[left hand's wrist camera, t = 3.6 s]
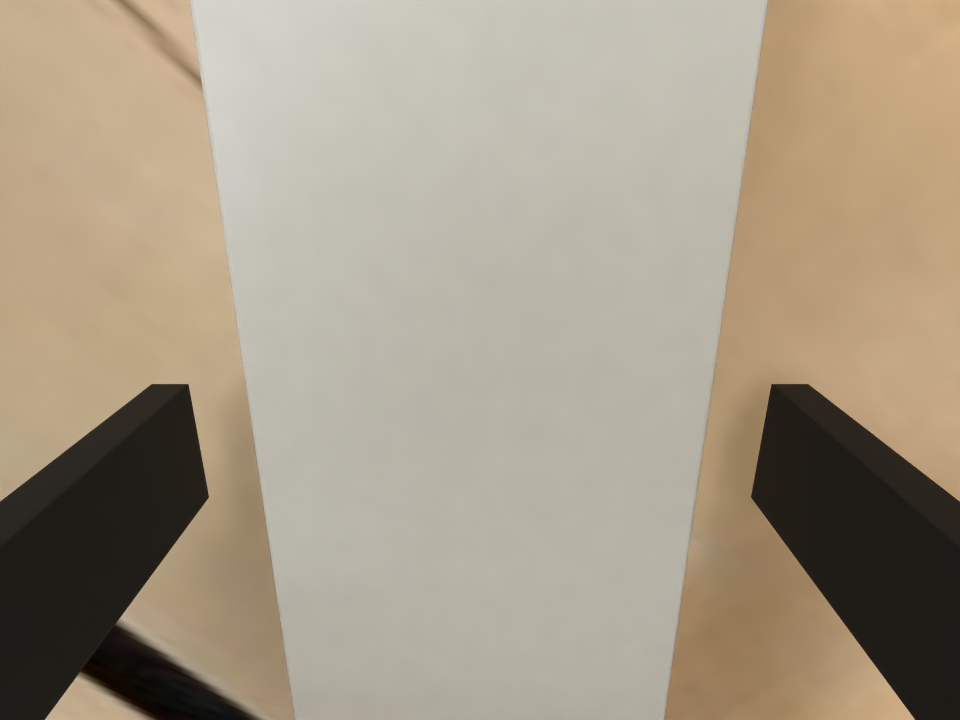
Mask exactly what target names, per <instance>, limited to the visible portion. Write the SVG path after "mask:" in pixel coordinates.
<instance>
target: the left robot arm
mask: <svg viewBox="0 0 960 720" xmlns="http://www.w3.org/2000/svg"><path fill="white" fill-rule="evenodd" d="M208 498H209V495H208V490H207V484H206V479H205V473H204V468H203V462H202V457H201V451H200V446H199V440H198V435H197V429H196V423H195V418H194V412H193V407H192V401H191V396H190V390H189V385H188V384H152V385H150V386H149V387H148V388H146V389H145V390H144V391H142V392H141V393H140V394H139V395H137V396H136V397H135V398H133V399H132V400H131V401H130V402H128V403H127V404H126V405H124V406H123V407H122V408H121V409H119V410H118V411H117V412H115V413H114V414H113V415H112V416H110V417H109V418H108V419H106V420H105V421H104V422H102V423H101V424H100V425H99V426H97V427H96V428H95V429H93V430H92V431H91V432H90V433H88V434H87V435H86V436H84V437H83V438H82V439H81V440H79V441H78V442H77V443H75V444H74V445H73V446H72V447H70V448H69V449H68V450H66V451H65V452H64V453H62V454H61V455H60V456H59V457H57V458H56V459H55V460H53V461H52V462H51V463H50V464H48V465H47V466H46V467H44V468H43V469H42V470H41V471H39V472H38V473H37V474H35V475H34V476H33V477H32V478H30V479H29V480H28V481H26V482H25V483H24V484H22V485H21V486H20V487H19V488H17V489H16V490H15V491H13V492H12V493H11V494H10V495H8V496H7V497H6V498H4V499H3V500H2V501H1V502H0V720H45V719H46V717H47V716H48V715H49V713H50V712H51V710H52V709H53V708H54V706H55V705H56V704H57V702H58V701H59V700H60V698H61V697H62V696H63V694H64V693H65V691H66V690H67V689H68V687H69V686H70V685H71V683H72V682H73V681H74V679H75V678H76V677H77V675H78V674H79V673H80V671H81V670H82V668H83V667H84V666H85V664H86V663H87V662H88V660H89V659H90V658H91V656H92V655H93V654H94V652H95V651H96V649H97V648H98V647H99V645H100V644H101V643H102V641H103V640H104V639H105V637H106V636H107V635H108V633H109V632H110V631H111V629H112V628H113V626H114V625H115V624H116V622H117V621H118V620H119V618H120V617H121V616H122V614H123V613H124V612H125V610H126V609H127V608H128V606H129V605H130V603H131V602H132V601H133V599H134V598H135V597H136V595H137V594H138V593H139V591H140V590H141V589H142V587H143V586H144V584H145V583H146V582H147V580H148V579H149V578H150V576H151V575H152V574H153V572H154V571H155V570H156V568H157V567H158V566H159V564H160V563H161V561H162V560H163V559H164V557H165V556H166V555H167V553H168V552H169V551H170V549H171V548H172V547H173V545H174V544H175V542H176V541H177V540H178V538H179V537H180V536H181V534H182V533H183V532H184V530H185V529H186V528H187V526H188V525H189V524H190V522H191V521H192V519H193V518H194V517H195V515H196V514H197V513H198V511H199V510H200V509H201V507H202V506H203V505H204V503H205V502H206V500H207V499H208ZM751 498H752V499H753V501H754V502H755V503H756V505H757V506H758V507H759V509H760V510H761V511H762V513H763V514H764V515H765V517H766V518H767V519H768V521H769V522H770V524H771V525H772V526H773V528H774V529H775V530H776V532H777V533H778V534H779V536H780V537H781V538H782V540H783V541H784V542H785V544H786V545H787V547H788V548H789V549H790V551H791V552H792V553H793V555H794V556H795V557H796V559H797V560H798V561H799V563H800V564H801V566H802V567H803V568H804V570H805V571H806V572H807V574H808V575H809V576H810V578H811V579H812V580H813V582H814V583H815V584H816V586H817V587H818V589H819V590H820V591H821V593H822V594H823V595H824V597H825V598H826V599H827V601H828V602H829V603H830V605H831V606H832V608H833V609H834V610H835V612H836V613H837V614H838V616H839V617H840V618H841V620H842V621H843V622H844V624H845V625H846V626H847V628H848V629H849V631H850V632H851V633H852V635H853V636H854V637H855V639H856V640H857V641H858V643H859V644H860V645H861V647H862V648H863V650H864V651H865V652H866V654H867V655H868V656H869V658H870V659H871V660H872V662H873V663H874V664H875V666H876V667H877V668H878V670H879V671H880V673H881V674H882V675H883V677H884V678H885V679H886V681H887V682H888V683H889V685H890V686H891V687H892V689H893V690H894V692H895V693H896V694H897V696H898V697H899V698H900V700H901V701H902V702H903V704H904V705H905V706H906V708H907V709H908V710H909V712H910V713H911V715H912V716H913V717H914V719H915V720H960V502H959V501H958V500H957V499H956V498H954V497H953V496H952V495H950V494H949V493H948V492H947V491H945V490H944V489H943V488H941V487H940V486H939V485H937V484H936V483H935V482H934V481H932V480H931V479H930V478H928V477H927V476H926V475H925V474H923V473H922V472H921V471H919V470H918V469H917V468H916V467H914V466H913V465H912V464H910V463H909V462H908V461H907V460H905V459H904V458H903V457H901V456H900V455H899V454H897V453H896V452H895V451H894V450H892V449H891V448H890V447H888V446H887V445H886V444H885V443H883V442H882V441H881V440H879V439H878V438H877V437H876V436H874V435H873V434H872V433H870V432H869V431H868V430H867V429H865V428H864V427H863V426H861V425H860V424H859V423H857V422H856V421H855V420H854V419H852V418H851V417H850V416H848V415H847V414H846V413H845V412H843V411H842V410H841V409H839V408H838V407H837V406H836V405H834V404H833V403H832V402H830V401H829V400H828V399H827V398H825V397H824V396H823V395H821V394H820V393H819V392H817V391H816V390H815V389H814V388H812V387H811V386H810V385H808V384H772V385H771V390H770V396H769V401H768V407H767V412H766V418H765V423H764V429H763V434H762V440H761V445H760V451H759V456H758V462H757V468H756V473H755V479H754V484H753V490H752V495H751Z"/></svg>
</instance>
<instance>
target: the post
mask: <svg viewBox="0 0 960 720" xmlns="http://www.w3.org/2000/svg"><path fill="white" fill-rule="evenodd" d="M767 5H768V0H190V6H191V12H192V19H193V26H194V33H195V40H196V47H197V53H198V60H199V67H200V74H201V81H202V88H203V95H204V101H205V108H206V115H207V122H208V129H209V136H210V143H211V149H212V156H213V163H214V170H215V177H216V184H217V191H218V197H219V204H220V211H221V218H222V225H223V232H224V238H225V245H226V252H227V259H228V266H229V273H230V280H231V286H232V293H233V300H234V307H235V314H236V321H237V328H238V334H239V341H240V348H241V355H242V362H243V369H244V376H245V382H246V389H247V396H248V403H249V410H250V417H251V423H252V430H253V437H254V444H255V451H256V458H257V465H258V471H259V478H260V485H261V492H262V499H263V506H264V513H265V519H266V526H267V533H268V540H269V547H270V554H271V560H272V567H273V574H274V581H275V588H276V595H277V602H278V608H279V615H280V622H281V629H282V636H283V643H284V650H285V656H286V663H287V670H288V677H289V684H290V691H291V698H292V704H293V711H294V718H295V720H664V716H665V709H666V702H667V695H668V688H669V681H670V674H671V668H672V661H673V654H674V647H675V640H676V633H677V626H678V619H679V612H680V605H681V599H682V592H683V585H684V578H685V571H686V564H687V557H688V550H689V543H690V536H691V529H692V523H693V516H694V509H695V502H696V495H697V488H698V481H699V474H700V467H701V460H702V454H703V447H704V440H705V433H706V426H707V419H708V412H709V405H710V398H711V391H712V384H713V378H714V371H715V364H716V357H717V350H718V343H719V336H720V329H721V322H722V315H723V309H724V302H725V295H726V288H727V281H728V274H729V267H730V260H731V253H732V246H733V239H734V233H735V226H736V219H737V212H738V205H739V198H740V191H741V184H742V177H743V170H744V164H745V157H746V150H747V143H748V136H749V129H750V122H751V115H752V108H753V101H754V94H755V88H756V81H757V74H758V67H759V60H760V53H761V46H762V39H763V32H764V25H765V19H766V12H767Z"/></svg>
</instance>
